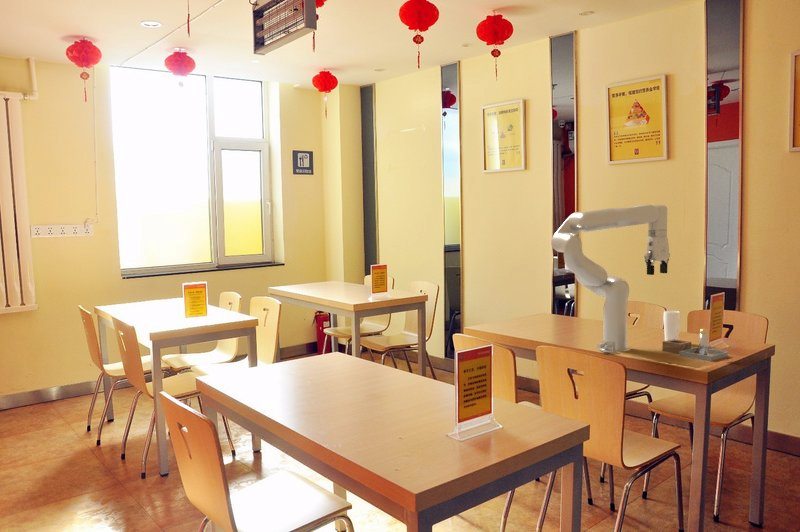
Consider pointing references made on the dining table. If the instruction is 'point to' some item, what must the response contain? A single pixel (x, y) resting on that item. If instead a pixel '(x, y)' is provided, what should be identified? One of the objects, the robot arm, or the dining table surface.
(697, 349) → the tray
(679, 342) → the pin block
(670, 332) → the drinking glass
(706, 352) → the pin
